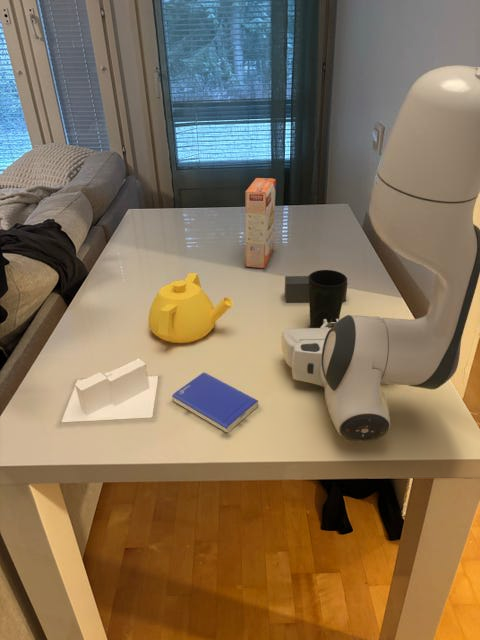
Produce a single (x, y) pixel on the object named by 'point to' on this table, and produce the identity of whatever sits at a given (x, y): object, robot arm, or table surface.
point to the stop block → (299, 289)
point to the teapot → (184, 311)
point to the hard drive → (215, 401)
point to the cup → (325, 296)
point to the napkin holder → (113, 395)
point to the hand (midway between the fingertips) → (330, 321)
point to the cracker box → (259, 222)
